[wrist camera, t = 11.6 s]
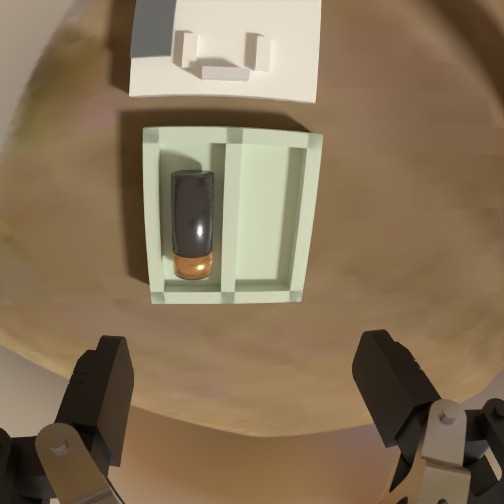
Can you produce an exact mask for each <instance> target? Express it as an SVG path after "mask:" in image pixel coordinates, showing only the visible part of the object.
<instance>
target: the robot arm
mask: <svg viewBox="0 0 504 504" xmlns="http://www.w3.org/2000/svg"><path fill="white" fill-rule="evenodd" d="M352 374H353V378H354V380H355V382H356V385H357V387H358V389H359V391H360V393H361V395H362V397H363V399H364V401H365V404H366V406H367V408H368V410H369V412H370V414H371V416H372V419H373V421H374V423H375V425H376V427H377V429H378V432H379V434H380V436H381V438H382V440H383V442H384V444H385V447H386V448H388V447H392V446H396V445H398V446H399V448H400V450H399V452H398V453H397V456H396V459H395V463H394V466H393V469H392V472H391V475H390V478H389V481H388V484H387V486H386V489H385V492H384V495H383V497H382V499H381V500H380V502H379V504H504V401H503V400H501V399H497V398H493V399H490V400H488V401H487V402H486V403H485V405H484V406H483V408H482V409H481V410H464V409H463V408H462V407H461V406H460V405H459V404H458V403H456V402H454V401H452V400H449V399H442V398H441V397H440V396H439V394H438V392H437V391H436V389H435V388H434V386H433V385H432V383H431V382H430V380H429V379H428V378H427V376H426V375H425V373H424V372H423V370H421V367H420V366H419V364H418V363H417V362H415V359H414V357H413V356H412V354H411V353H410V351H409V350H408V349H407V348H405V347H404V346H403V345H401V344H400V343H399V342H394V340H393V339H392V338H391V336H390V335H389V333H388V332H387V331H386V330H384V329H381V330H372V331H365V332H364V333H363V334H362V336H361V339H360V342H359V346H358V349H357V351H356V354H355V357H354V360H353V364H352ZM69 382H70V383H69V384H68V386H67V389H66V392H65V394H64V397H63V400H62V403H61V405H60V408H59V411H58V414H57V417H56V420H55V422H54V423H53V424H49V425H47V426H45V427H44V428H43V429H42V430H41V431H40V432H39V433H38V435H37V436H33V437H16V438H11V437H10V436H9V435H8V434H7V432H6V431H4V430H3V429H2V428H0V504H50V499H51V498H58V500H59V502H60V504H126V503H125V502H124V500H123V499H122V498H121V496H120V495H119V493H118V492H117V490H116V489H115V488H114V486H113V484H112V483H111V481H110V480H109V478H108V477H107V476H108V469H109V465H110V466H117V467H120V463H121V455H122V449H123V442H124V436H125V430H126V424H127V418H128V413H129V407H130V402H131V397H132V392H133V387H134V372H133V367H132V363H131V359H130V355H129V350H128V346H127V342H126V339H125V337H122V336H106V335H103V336H102V337H101V338H100V341H99V343H98V346H97V349H96V350H87V351H86V352H85V353H84V354H83V355H82V356H81V357H80V358H79V359H78V361H77V363H76V366H75V368H74V371H73V374H72V376H71V378H70V381H69ZM490 448H491V450H492V452H493V454H494V456H495V458H496V460H497V461H498V463H499V465H500V467H501V470H502V477H501V479H500V481H498V480H497V478H496V476H495V474H494V472H493V470H492V468H491V466H490V464H489V462H488V460H487V458H486V456H485V453H486V452H487V451H488V450H489V449H490Z"/></svg>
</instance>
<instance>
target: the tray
mask: <svg viewBox="0 0 504 504" xmlns="http://www.w3.org/2000/svg"><path fill="white" fill-rule="evenodd" d="M322 141H323V135H321V134H316V133H311V132H302V131H292V130H280V129H267V128H251V127H230V126H149V127H145V128H143V190H144V215H145V232H146V247H147V260H148V271H149V281H150V291H151V300H152V303H156V304H228V303H273V302H301V298H302V292H303V286H304V280H305V273H306V267H307V260H308V254H309V247H310V240H311V233H312V226H313V218H314V211H315V203H316V195H317V187H318V178H319V169H320V160H321V151H322ZM181 170H206V171H211V172H213V173H214V201H213V271H212V274H211V275H210V276H208V277H206V278H204V279H200V280H194V281H192V280H185V279H181V278H179V277H177V276H176V275H175V274H174V271H173V252H172V250H173V247H172V217H171V173H172V172H175V171H181Z"/></svg>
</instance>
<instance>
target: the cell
mask: <svg viewBox="0 0 504 504" xmlns="http://www.w3.org/2000/svg"><path fill="white" fill-rule="evenodd" d="M213 201H214V173H213V172H211V171H206V170H181V171H175V172H172V173H171V217H172V247H173V250H172V252H173V271H174V274H175V275H176V276H177V277H179V278H181V279H185V280H192V281H194V280H200V279H204V278H206V277H208V276H210V275H211V274H212V271H213Z"/></svg>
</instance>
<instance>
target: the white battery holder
mask: <svg viewBox="0 0 504 504" xmlns="http://www.w3.org/2000/svg"><path fill="white" fill-rule="evenodd" d="M320 20H321V0H136V6H135V13H134V21H133V29H132V38H131V48H130V58H131V72H130V89H129V96H130V97H135V98H140V97H164V96H217V97H240V98H256V99H269V100H280V101H289V102H298V103H315V100H316V87H317V73H318V58H319V41H320Z"/></svg>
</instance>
